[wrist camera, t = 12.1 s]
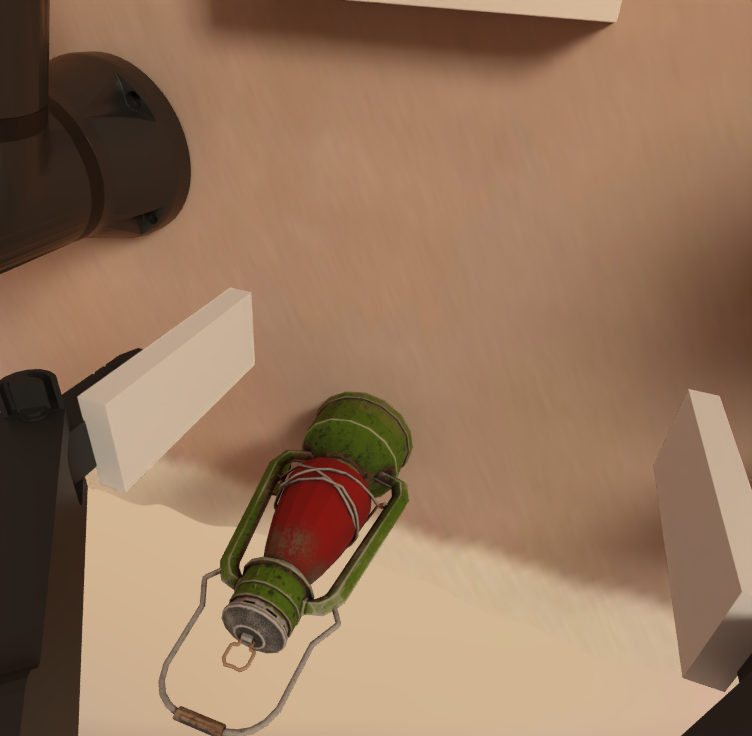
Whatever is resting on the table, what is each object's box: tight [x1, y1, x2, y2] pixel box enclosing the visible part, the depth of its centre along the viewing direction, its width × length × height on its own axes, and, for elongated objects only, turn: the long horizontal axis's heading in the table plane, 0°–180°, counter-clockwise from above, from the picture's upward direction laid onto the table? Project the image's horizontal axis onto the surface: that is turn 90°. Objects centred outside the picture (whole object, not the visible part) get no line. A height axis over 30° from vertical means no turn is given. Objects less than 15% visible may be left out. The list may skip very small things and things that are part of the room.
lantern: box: [159, 392, 413, 736], centre depth 46 cm, size 14×11×30 cm
